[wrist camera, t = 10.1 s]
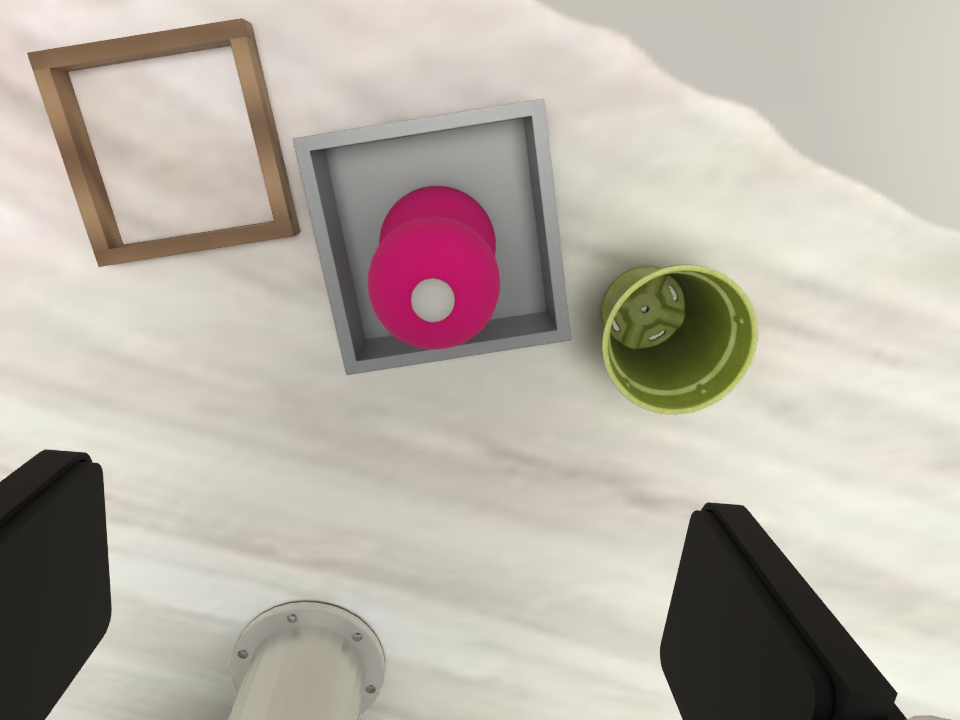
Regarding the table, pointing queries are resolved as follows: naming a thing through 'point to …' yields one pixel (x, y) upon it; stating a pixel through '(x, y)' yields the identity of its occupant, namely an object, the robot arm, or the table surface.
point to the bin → (452, 163)
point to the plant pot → (677, 337)
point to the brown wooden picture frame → (83, 164)
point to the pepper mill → (435, 269)
